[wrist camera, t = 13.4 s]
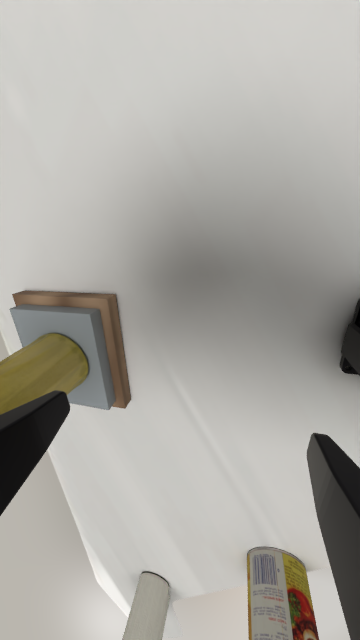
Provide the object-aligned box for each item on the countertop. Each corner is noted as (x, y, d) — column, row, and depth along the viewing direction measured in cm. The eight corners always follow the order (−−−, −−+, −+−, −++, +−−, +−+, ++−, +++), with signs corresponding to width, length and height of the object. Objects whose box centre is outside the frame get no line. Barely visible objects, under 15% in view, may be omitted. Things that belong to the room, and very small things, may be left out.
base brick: (115, 294, 22) (107, 299, 20) (130, 399, 27) (125, 408, 25) (24, 290, 24) (12, 294, 23) (54, 386, 29) (45, 394, 28)
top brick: (99, 308, 21) (89, 314, 20) (115, 400, 25) (109, 410, 24) (23, 304, 23) (9, 308, 22) (49, 389, 27) (40, 397, 26)
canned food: (268, 580, 34) (281, 741, 24) (235, 550, 33) (233, 704, 23) (317, 577, 31) (358, 763, 20) (282, 543, 30) (306, 719, 19)
